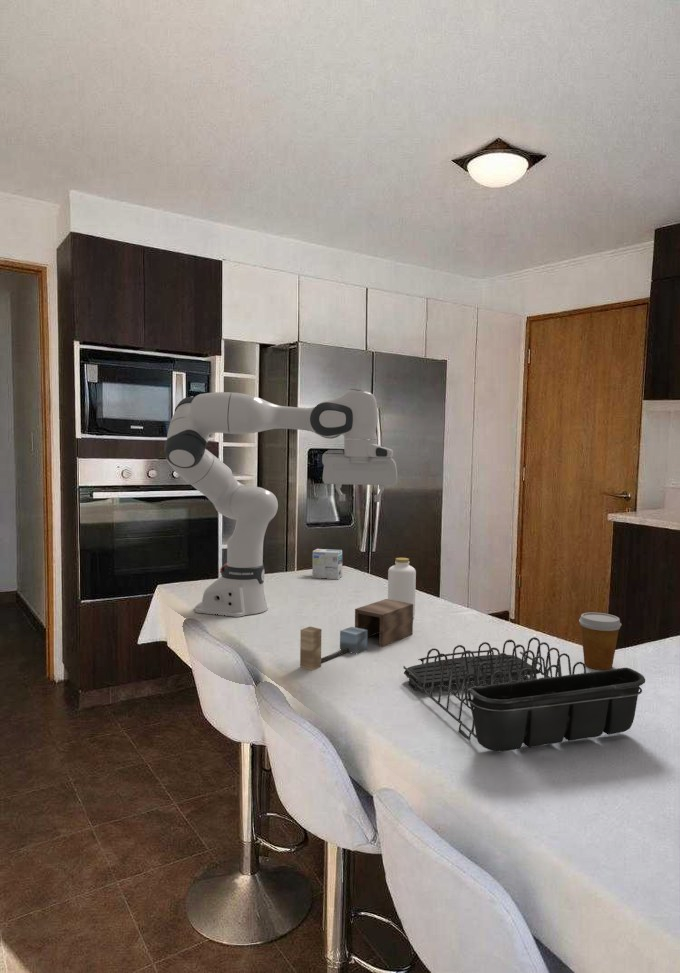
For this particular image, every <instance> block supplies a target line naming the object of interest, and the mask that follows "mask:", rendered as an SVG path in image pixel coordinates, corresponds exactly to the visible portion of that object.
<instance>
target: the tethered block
mask: <svg viewBox="0 0 680 973" xmlns="http://www.w3.org/2000/svg"><path fill="white" fill-rule="evenodd" d="M339 631H340V632H339V651H337V652H333V653H331V654H328V655H326V656H323V657H322V628H318V627H316V626H315V627H314V626H307V627H304V628H301V629H300V640H299V641H300V644H299V646H300V647H299V648H300V650H299V651H300V652H299V658H300V660H299V667H300V668H303V669H306V670H309V671H314V670H316V669H318V668H320V667H322V663H323V662H325V661H328V660H330V659H332V658H335V657H338V656H341V655H344V654H345V653H350V652H352V653H351V654H354V653H355V654H354V655H357V654H359V653H361V651H362V652H364V651H366V650H368V637H367V630H364V629H360V628H356V627H355V626H350V627H347V628H344V629H340V630H339ZM340 649H341V650H340ZM356 653H357V654H356Z"/></svg>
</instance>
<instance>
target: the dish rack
mask: <svg viewBox="0 0 680 973" xmlns="http://www.w3.org/2000/svg"><path fill="white" fill-rule="evenodd" d="M532 641H536V642H537V644H538V645H537V649H536V656H535V653H534V651H533V650H530V646H531V643H532ZM508 643H512V644H513V649H512V654H507V653H506V652H505V651H506V650H505V649H506V645H507V644H508ZM484 645H486V646H488V648H489V649H487V650H486V649H484V650H481V648H482V646H484ZM543 645H544V646H546V647H547V653H546V659H545V658H544V657H543V656H542V651H541V646H543ZM502 647H503V648H502V652H500V650H499V649H498V648H497V647H492V646H491V644H490V643H489V642H486V641H485V642H484V641H483V642H481V643H480V644H479V646H478V650H473V651H472V650H466V648H465V646H464V645H462V644H458V645H456V646H454V648H453V650H452V653H446V654H445V653H440V652H441V651H440V650H439V649H438V648H434V647H433V648H431V649H430V650H428V652H426V653H427V654H426V656H425V657H421V658H417V661H420V662H421V663H420V664H416V665H411V666H409V667H406V666H405V665H403V669H404V672H403V674H404V675H405V676H406V678H407V679H408V680H409V681H408V686H409V687H410V688H411V689H412V690H413V691H417V690H418V689H419V690H421V692H423V693H424V694H425V695H426V696H427V697H429V698H430V699H431V700H432V701H433V702H434V703H436V705H437V706H439V707H440V708H441V709H442V710H444V711H445V712H446V713H447V714H448V715H449V716H450V717H451V718H452V719H454V720H455V721H456V722H457V723H459V726H458V733H459V734H460V735H461V736H463V737H464V738H465V739H466V738H467V740H471V738H472V737H474V738H475V739H477V742H478V744H479V745H480V746H481V747H483V748H485V749H487V750H489V751H492V752H508V751H509V752H510V751H515V750H520V749H522V747H523V744H524V745H525V746H526V747H528V748H534V747H539V746H547V745H551V744H559V743H562V742H563V740H564V739H565V740H567V741H569V742H571V741H576V740H583V739H589V738H598V737H601V736H602V735H603V733H604V734H606V735H614V734H618V733H624V732H625V733H626V732H627V731H628V730H630V729H631V728H632V725H633V723H634V720H635V715H636V708H637V704H638V703H637V702H638V699H639V698H638V697H639V695H640V694H642V693H643V689H642V688H641V686H642V685H644V684H645V683H646V678H645V676H644V675H643V674H641V673H640V672H638V671H636V670H634V669H633V668H630V667H619V668H611V669H609V670H596V671H590V672H587V666H585V664H584V662H583V661H576V662H575V663H574V665H573V666H571V658H570V655H569V654H568V653H565V652H564V653H561V654H560V651H559V650H560V649H558V648H557V647H551V648H550V645H549V643H547V642H545V641H543V642H541V641H540V639H539V638H538V637H537V636H536V637H535V636H534V637H531V638H530V639H529V640H528V643H527V650H526V649H525V646H524V645H522V644H516V642H515V641H514V639H507V640H506V641H504V643H503V646H502ZM457 648H461V649H463V651H461V652H460V651H459V652H456V650H457ZM517 648H522V651H519V654H520V655H521V657H519V656H518V654H517ZM553 650H554V651H556V653H557V660H556V664H552V660H551V659H552V658H551V651H553ZM434 651H436V652H437V655H432V656H430V654H431V653H432V652H434ZM494 651H496V652H497V654H495V653H494ZM480 653H481V654H482V653H486V655H485V654H484V655H481V654H480ZM529 653H530V654H532V657H531V656H529ZM475 654H477V655H475ZM459 655H460V657H455V656H459ZM467 655H468V656H467ZM450 656H452V657H451V658H448V657H450ZM563 656H565V657H566V658H567V662H568V674H566V675H563V674H562V666H561V657H563ZM443 657H444V659H442V658H443ZM431 659H434V661H429V660H431ZM437 659H438V660H437ZM528 659H529V660H531V664H530V663H528ZM424 661H425V662H424ZM579 664H580V665H582V666H583V672H582V673H575V672H576V666H578V665H579ZM538 665H539V668H537V666H538ZM552 668H555V674H554V676H553V671H552V670H553V669H552ZM539 674H541V676H542V677H539V678H537V676H538V675H539ZM549 674H550V676H549ZM512 677H516V678H517V680H516V679H515V680H514V679H512ZM507 678H508V682H507ZM524 678H525V679H524ZM488 680H491V681H490V682H491V683H490V684H488V683H486V681H488ZM480 681H482V684H480V685H479V682H480ZM499 681H501V682H499ZM412 683H413V684H414V685H413V684H412ZM460 684H462V686H461V695H460ZM452 685H456V691H455V692H453V690H452ZM469 685H470V686H472V687H470V688H469ZM436 687H439V691H438V699H436V698H435V697H434V696H433V692H434V688H436ZM417 688H418V689H417ZM426 688H430V693H429V692H428V691H427V690H426ZM442 688H443V689H446V690H447V691H448V692H447V700H446V707H445V706H444V705H443V704H442V703H441V696H442ZM464 693H465V694H464ZM451 695H453V696H454V697H455V698H456V699H457V700H458V701H460V705H459V714H458V717H457V716H456V715H454V714H453V713H452V712H451V711H449V705H450V697H451ZM471 695H472V696H471ZM463 705H465V706H466V707H467V708H468V709H470V710H471V711H470V712H471V716H472V724H471V728H469V727H468V725H466V724H465V723H463V721H462V720H461V718H462V711H463ZM469 705H470V706H469ZM462 727H463V728H464V729H465V730H466V731H467V732H469V735H468V734H466V733H465V731H464V730H462ZM474 730H475V732H474Z"/></svg>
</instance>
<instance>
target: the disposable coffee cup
mask: <svg viewBox="0 0 680 973" xmlns="http://www.w3.org/2000/svg"><path fill="white" fill-rule="evenodd" d="M578 621H579V625H580V628H581V639H582V641H581V642H582V651H583V652H582V653H583V663H584V664H585V665H586V668H589V669H592V668H593V669H592V670H597V669H598V670H597V671H604V670H612V669H613V663H614V658H615V654H616V653H615V652H616V647H617V641H618V636H619V632H620V629H621V627H622V623H621V620H620V617H618V616H616V615H613V614H609V613H603V612H584V613H581V615H580V618H579V619H578Z"/></svg>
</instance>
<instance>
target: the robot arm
mask: <svg viewBox="0 0 680 973" xmlns="http://www.w3.org/2000/svg"><path fill="white" fill-rule="evenodd" d="M374 395H375V394H373V393H372V392H370V391H367V390H363V389H357V388H350V389H348V390H347V391H346V392H344V393H343V394H341V395H338V396H337V397H334V398H333V399H328V400H326V401H322V402H320V403H318V404H317V405H316V406H315V407H314V406H313V407H297V406H284V405H279V404H276V403H272V402H270V401H267V400H265V399H264V398H260V397H257V396H255V395H251V394H247V393H241V392H231V391H230V392H228V391H226V392H225V391H223V392H222V391H219V392H218V391H217V392H206V393H200V394H197V395H195V396H187V397H185V398H183V399H181V400H180V401H179V402H178V404H177V405H176V407H175V409H174V411H173V415H172V417H171V419H170V421H169V426H168V430H167V436H166V440H165V442H164V456H165V459H166V462H167V464H168V465H169V466H170V467H171V469H173V471H174V472H176V473H177V475H179V477H181V478H182V479H183V480H184V481H185V482H186V483H188V484H190V485H191V486H192V487H193V488H194V489H196V490H197V491H199V492H200V493H201V494H202V495H203V496H205V497H206V498H207V499H208V500H209V501H210V502H211V503H212V505H213V506H214V508H215V510H216V512H218V513H219V514H220V515H221V516H224V517H226V518H228V519H230V520H234V521H235V520H236V522H235V526H234V530H233V533H232V534H231V535H230V536H229V537H228V540H227V542H226V545H227V546H226V555H227V556H226V561H227V562H226V563H224V564H223V566H221V568H220V569H219V573H220V574H221V576H220V577H219V578H218V579H216V580H215V581H214V582H212V583H211V584H210V585H209V586H207V587H206V589H205V590H204V591H203V594H202V598H201V599H202V600H201V602H199V603H197V604H196V605H195V607H194V612H195V613H198V614H208V615H215V614H216V615H217V614H218V616H224V615H225V617H235V618H239V617H243V616H248V615H249V616H250V615H257V614H261V613H264V612H266V611H267V610H268V608H269V607H268V605H267V602H266V594H265V590H264V583H265V582H264V581H265V565H264V562H263V560H264V558H263V557H264V540H265V535H266V531H267V528H268V526H269V524H270V522H271V521H272V520H273V519H274V518H275V516H276V514H277V513H278V509H279V508H278V507H279V503H278V499H277V497H276V495H275V494H274V493H273V492H272V491H270V490H267V489H265V488H263V487H260V486H252V485H246V484H243V483H242V482H239V481H238V480H237V479H236V478H235V476H234V475H233V471H232V469H231V468H230V467H229V466H228V465H226V464H225V463H224V462H223V461H222V460H220V459H219V458H218V457H217V456H216V455H214V454H213V453H212V452H210V450H208V449H207V448H206V447H207V445H208V442H209V438H210V435H213V434H216V433H218V434H229V435H230V434H231V435H243V434H244V435H245V434H246V435H248V434H254V433H261V432H264V431H269V430H274V429H275V430H276V429H278V430H279V429H280V430H281V429H284V430H286V429H287V430H297V431H298V430H299V431H308V432H311V433H315V434H316V435H318V436H320V437H322V438H325V439H329V440H330V439H335V438H338V437H340V436H341V435H342V436H343V438H344V439H343V440H344V441H343V442H344V443H343V444H344V445H343V449H328V450H327V451H325V452H324V453H323V454H322V457H321V463H322V465H323V469H322V470H323V472H322V482H323V483H324V484H325V485H334V486H335V487H334V488H335V490H336V492H337V494H338V495H339V496H338V497H339V499H338V500H339V502H346V494H345V493H343V492H342V491H341V488H342V485H359V486H364V485H365V486H378V490H379V492H378V494H375V495H373V501H374V503H380V502H381V496H382V493H383V492H384V490H385V486H396V484H398V469H397V463H396V461H395V459H393V458H392V457H393V456H394V450H393V449H392V448H389V447H385V446H384V445H381V444H378V435H377V432H376V431H377V426H378V402H377V398H376V396H374Z"/></svg>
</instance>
